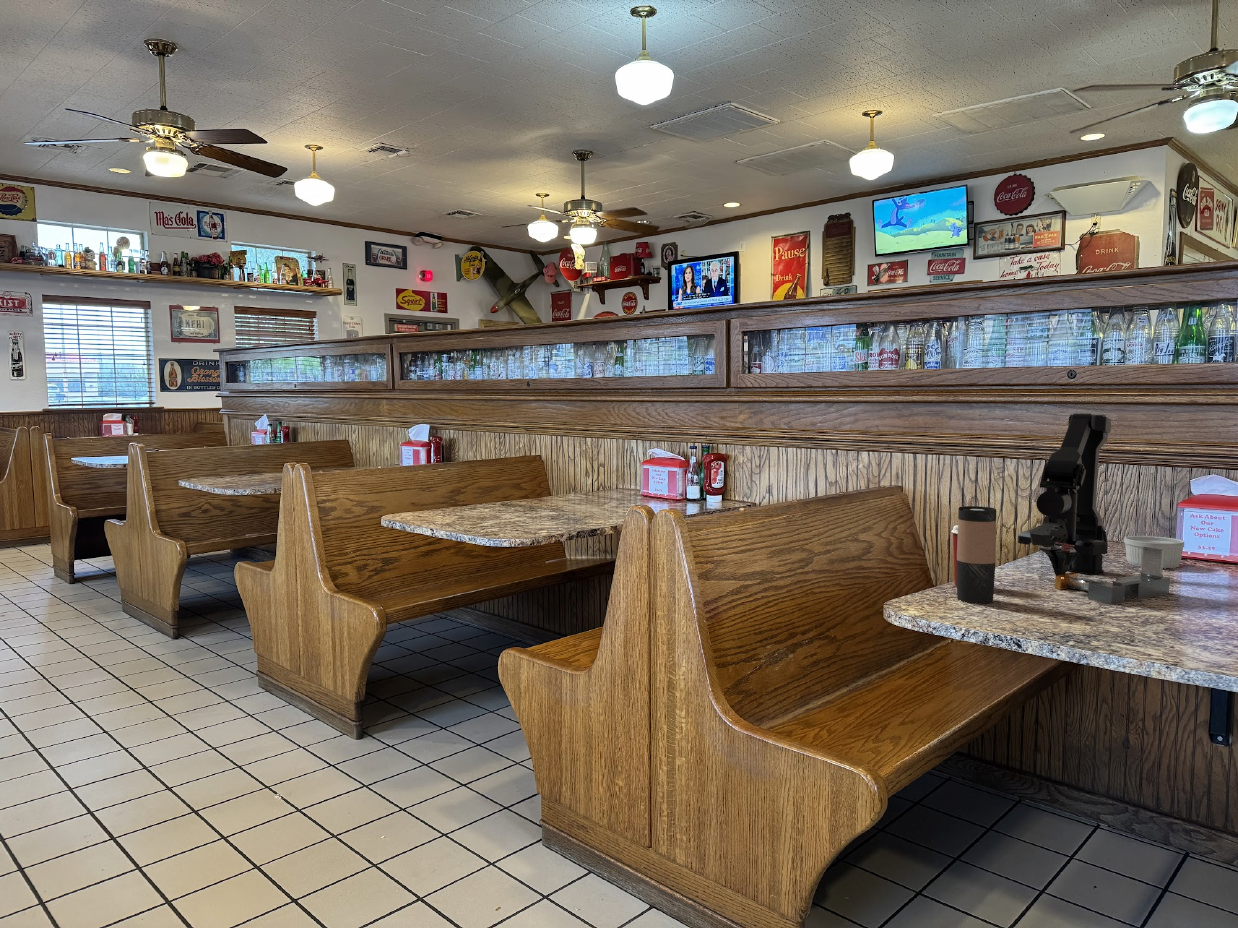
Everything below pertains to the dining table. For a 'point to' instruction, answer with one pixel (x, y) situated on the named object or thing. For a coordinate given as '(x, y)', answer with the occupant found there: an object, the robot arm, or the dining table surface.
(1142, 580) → the hitch bar
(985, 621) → the dining table surface
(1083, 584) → the pin
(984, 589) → the travel mug
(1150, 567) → the keeper flap
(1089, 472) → the robot arm
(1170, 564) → the ramekin
